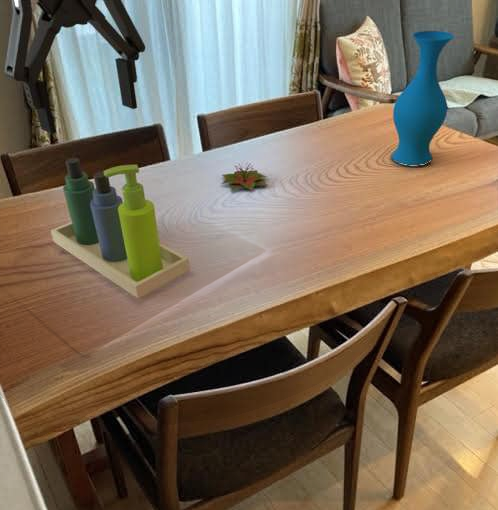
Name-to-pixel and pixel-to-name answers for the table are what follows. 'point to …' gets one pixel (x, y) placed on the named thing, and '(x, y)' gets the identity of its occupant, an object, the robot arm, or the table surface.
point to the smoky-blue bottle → (108, 219)
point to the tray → (122, 263)
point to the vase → (421, 103)
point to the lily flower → (244, 179)
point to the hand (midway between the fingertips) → (91, 118)
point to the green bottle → (80, 202)
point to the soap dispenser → (138, 225)
